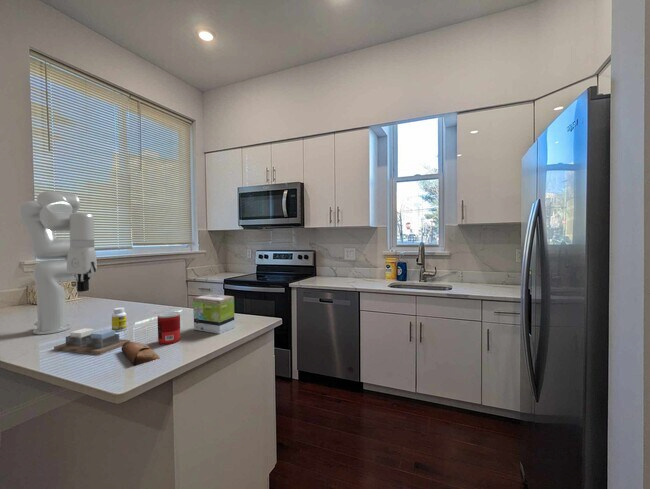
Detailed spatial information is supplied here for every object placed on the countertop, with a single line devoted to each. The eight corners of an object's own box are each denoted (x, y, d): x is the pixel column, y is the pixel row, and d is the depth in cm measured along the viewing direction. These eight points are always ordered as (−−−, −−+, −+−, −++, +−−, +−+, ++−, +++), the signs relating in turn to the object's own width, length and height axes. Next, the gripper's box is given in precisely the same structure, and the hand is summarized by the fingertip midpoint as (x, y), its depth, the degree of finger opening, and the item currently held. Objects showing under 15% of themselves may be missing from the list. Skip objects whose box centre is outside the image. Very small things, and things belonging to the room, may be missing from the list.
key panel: (54, 349, 112) (53, 338, 112) (86, 339, 124) (86, 329, 124) (100, 354, 107) (100, 342, 107) (130, 343, 118) (129, 332, 118)
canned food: (184, 339, 122) (184, 312, 122) (168, 345, 115) (168, 317, 114) (170, 337, 125) (169, 310, 124) (153, 343, 117) (152, 315, 117)
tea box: (193, 330, 133) (192, 297, 133) (209, 324, 143) (208, 293, 142) (220, 334, 128) (219, 299, 127) (235, 327, 137) (234, 295, 137)
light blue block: (90, 342, 112) (90, 333, 112) (104, 338, 117) (104, 329, 117) (101, 344, 111) (101, 334, 111) (115, 339, 116) (114, 330, 116)
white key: (70, 341, 115) (70, 332, 114) (84, 337, 120) (84, 328, 120) (81, 342, 113) (80, 333, 113) (94, 337, 118) (94, 329, 118)
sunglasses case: (162, 358, 103) (150, 344, 100) (142, 374, 98) (130, 360, 96) (147, 345, 115) (136, 332, 113) (129, 359, 111) (117, 346, 109)
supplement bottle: (119, 332, 133) (118, 310, 132) (109, 331, 134) (108, 309, 134) (129, 328, 138) (128, 307, 138) (119, 328, 139) (118, 306, 139)
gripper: (57, 244, 116) (58, 291, 117) (86, 245, 113) (87, 294, 113) (78, 243, 124) (79, 288, 124) (106, 244, 120) (107, 290, 120)
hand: (83, 290), depth 119 cm, fingers closed
